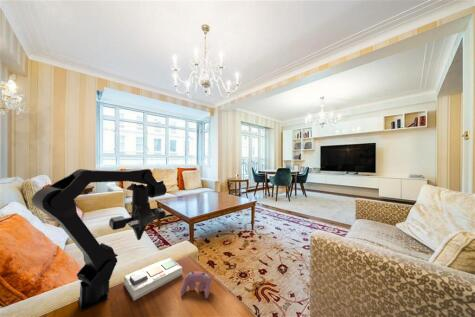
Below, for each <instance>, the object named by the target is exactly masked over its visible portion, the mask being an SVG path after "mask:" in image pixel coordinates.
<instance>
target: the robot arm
mask: <svg viewBox="0 0 475 317" xmlns="http://www.w3.org/2000/svg"><path fill="white" fill-rule="evenodd" d="M113 182H114V183H116V182H120V183H121V182H131V184H129V186H127V187H126V190H127V191H132V195H131V197H132V198H131V200H132V201H131V203H130V205H131V212H130V217H124V216H123V215H119V216H115V217H111V218H110V219H109V221H108V226H109V228H111V229H112V230H113V231H118V230H119V229H123V228H124V229H125V227H126V226H129V227H130V228H131V229H132V230H133V232H134V234H135V237H136V240H137V241H139V240H141V239H142V236H143V234H144V232H145V230H146V228H147V226H148V225H150V224H152V223H154V220H155V219H158V220H162V219H165V218H166V216H167V213H166V211H165V210H163V209H162V208H158V207H155V208H151V203H150V202H149V201H150V200H149V198H150V199H152V198H156V197H162V196H165V195H166V194H167V191H168V190H167V186H166V185H165V183H164V180H160V179H159V180H156V178H155V177H154V175H153V171H152V170H151V169H150V168H141V167H140V168H139V167H136V168H128V169H126V170H125V169H123V170H115V169H114V170H109V169H108V170H105V169H103V170H102V169H100V170H99V169H83V168H80V169H77V170H75V171H73V172H71V173H70V174H69V175H67V176H65V177H63V178H62V179H59V180H57V181H55V182H54V183H53V184H51V185H49V186H48V187H43V188H41V189H39V190H37V191H36V192H35V193H34V194H33V196H32V198H31V203H32V205H33V206H34V207H36V209H37V208H38V209H39V210H40V211H41V212H43V213H44V214H46V215H47V216H48V217H50V218H51V219H53V220H55V221H56V222H57V224H58V225H59V226H60V227H61V229H62V230H63V231H64V232H65V234H67V236H68V237H69V238H70V239H71V241H72V242H73V243H74V245H75V246H76V247H77V248H78V249H79V250H80V251H81V253H82V255H83V261H84V265H83V266H82V268H81V269H80V270H79V271H78V272H77V273H76V277H77V279H78V281H80V287H79V288H80V289H79V297H78V303H79V306H80V311H81V312H83V311H85V310H88V309H90V308H92V307H94V306H96V305H98V304H100V303H102V302H104V301H106V300H108V299H109V292H110V280H111V278H112V275H113V272H114V270H115V267H116V266H117V264H118V258H117V257H118V256H119V255H118V254H117V253H116V252H115V251H114V248H113V246H110V245H109V244H108V245H107V244H105V243H104V242H101V243H99V241H98V240H97V239H96V237H95V236H94V235H93V233H92V232H91V231H90V230H89V228H88V226H87V225H86V224H85V222H84V221H83V220H82V219H81V217H80V216H79V214H78V210H77V204H76V201H75V199H76V198H78V197H79V196H80V195H82V193H83V191H84V190H85V189H86V188H87V186H89V185H90V184H92V183H113ZM136 183H138V184H136Z"/></svg>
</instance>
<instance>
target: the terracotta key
mask: <svg viewBox="0 0 475 317" xmlns="http://www.w3.org/2000/svg"><path fill="white" fill-rule="evenodd" d="M162 272H163V270H162V269H161V268H160V267H159V266H156V267H154V268H152V269H149V270H147V272H146V273H147V274H148V275H149V276H150V277H153V276H155V275H157V274H160V273H162Z"/></svg>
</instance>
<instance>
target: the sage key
mask: <svg viewBox="0 0 475 317" xmlns="http://www.w3.org/2000/svg"><path fill="white" fill-rule="evenodd" d="M161 266H162V267H163V268H164V269H165V270H168V269H170V268H172V267H174V266H176V264H175V263H174V262H173V261H172V260H170V261H167V262H165V263H163V264H161Z"/></svg>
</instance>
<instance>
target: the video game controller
mask: <svg viewBox="0 0 475 317" xmlns="http://www.w3.org/2000/svg"><path fill="white" fill-rule="evenodd" d="M196 282H197V283H199V284H198V286H197V284H196ZM211 284H212V277H211V276H210V275H209V274H208V273H206V272H204V271H199V270H196V271H195V270H194V271H189V273H187V274H185V276H184V279H183V281H182V284H181V288H180V296H182V297H183V296H184V294H185V293H186V291H187V289H188V288H189V291H195V290H196V288H197V291H198V292H200V293H201V292H203V291H204V299H208V297H209V295H210V289H211Z"/></svg>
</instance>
